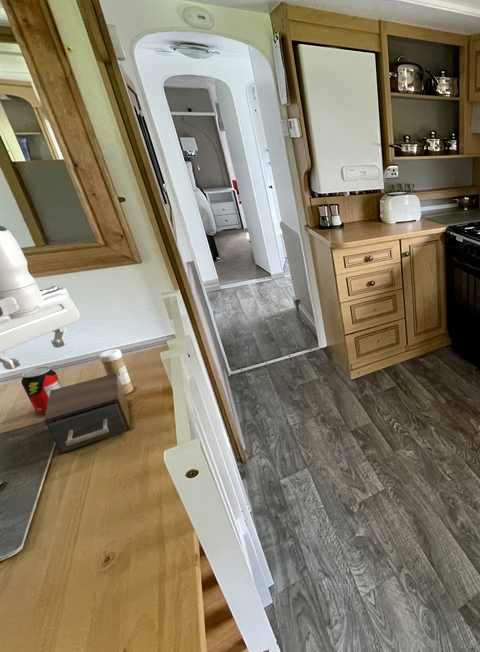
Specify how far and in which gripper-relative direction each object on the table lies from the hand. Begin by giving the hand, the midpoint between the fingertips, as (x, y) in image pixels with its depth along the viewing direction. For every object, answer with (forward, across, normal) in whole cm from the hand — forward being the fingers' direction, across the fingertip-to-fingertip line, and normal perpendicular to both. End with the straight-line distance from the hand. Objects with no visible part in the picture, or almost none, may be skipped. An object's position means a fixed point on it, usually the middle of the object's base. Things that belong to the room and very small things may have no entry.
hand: (38, 356), depth 84 cm
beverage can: (+24, -10, -18) cm, 32 cm away
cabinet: (+24, -5, 0) cm, 24 cm away
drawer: (+23, -2, +3) cm, 23 cm away
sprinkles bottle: (+24, -20, -6) cm, 32 cm away
